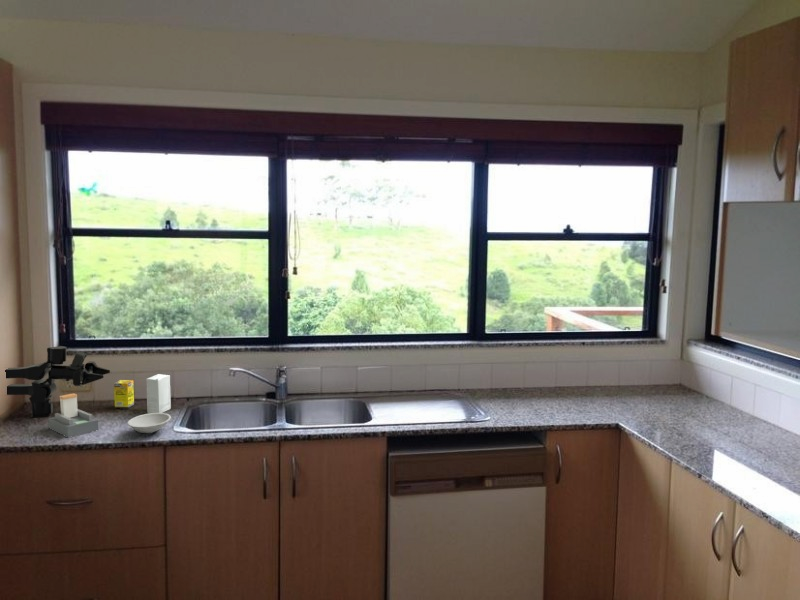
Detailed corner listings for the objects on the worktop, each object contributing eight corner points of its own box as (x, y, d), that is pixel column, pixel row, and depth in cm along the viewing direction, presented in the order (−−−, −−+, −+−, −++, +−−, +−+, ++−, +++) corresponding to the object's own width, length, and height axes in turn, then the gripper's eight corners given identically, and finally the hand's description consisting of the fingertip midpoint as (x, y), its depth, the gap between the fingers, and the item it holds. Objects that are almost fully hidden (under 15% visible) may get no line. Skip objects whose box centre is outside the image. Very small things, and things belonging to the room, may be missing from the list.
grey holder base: (49, 428, 241) (48, 413, 240) (78, 421, 250) (78, 406, 249) (68, 437, 231) (67, 421, 230) (98, 430, 240) (97, 414, 239)
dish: (158, 441, 229) (158, 427, 228) (119, 439, 229) (118, 426, 229) (178, 425, 246) (178, 413, 246) (142, 424, 247) (141, 412, 246)
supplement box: (128, 409, 268) (127, 383, 267) (114, 408, 268) (113, 383, 267) (134, 405, 274) (133, 380, 273) (120, 404, 274) (119, 379, 273)
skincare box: (159, 408, 270) (158, 373, 268) (171, 409, 268) (170, 374, 266) (146, 413, 262) (145, 378, 260) (159, 414, 260) (158, 379, 258)
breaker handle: (60, 417, 241) (59, 395, 240) (74, 414, 245) (73, 393, 244) (64, 419, 239) (63, 397, 238) (78, 416, 243) (77, 394, 242)
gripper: (57, 357, 248) (100, 359, 250) (73, 348, 266) (113, 350, 268) (57, 385, 249) (99, 387, 251) (73, 374, 267) (112, 376, 270)
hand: (106, 374), depth 260 cm, fingers open, 9 cm apart
